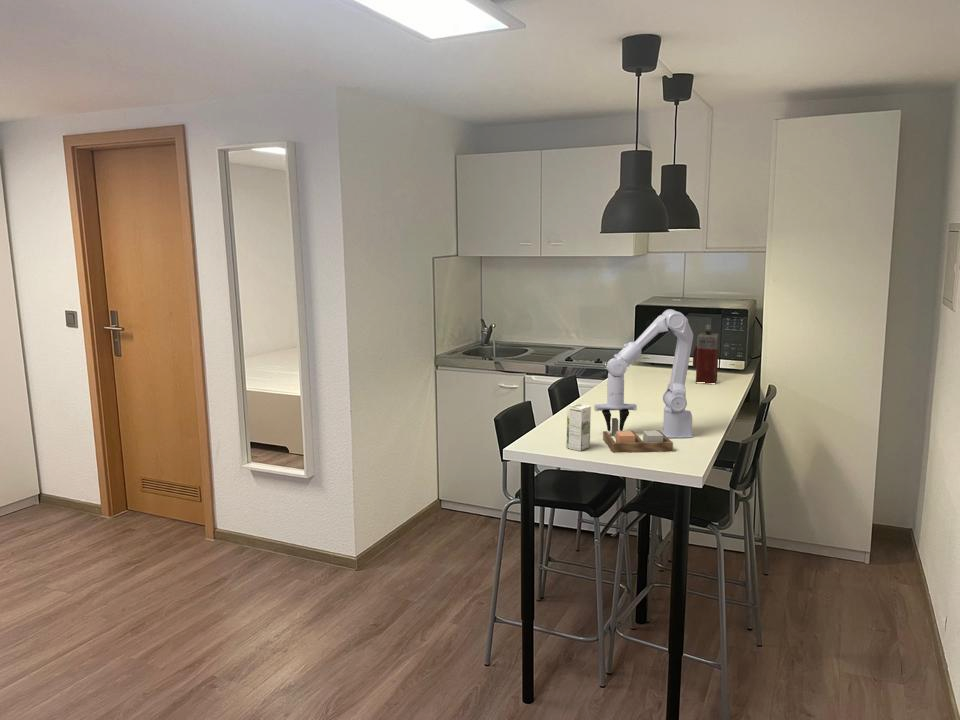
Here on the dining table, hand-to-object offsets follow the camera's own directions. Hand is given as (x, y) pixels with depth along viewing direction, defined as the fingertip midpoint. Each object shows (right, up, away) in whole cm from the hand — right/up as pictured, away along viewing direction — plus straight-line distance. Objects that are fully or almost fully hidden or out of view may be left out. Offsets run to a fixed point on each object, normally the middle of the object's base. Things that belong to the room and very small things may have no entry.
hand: (615, 430), depth 257 cm
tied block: (0, -3, -8) cm, 9 cm away
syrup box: (-15, -5, -15) cm, 22 cm away
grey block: (+10, -4, -15) cm, 19 cm away
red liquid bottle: (+61, +14, +96) cm, 114 cm away
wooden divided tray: (+5, -4, -12) cm, 14 cm away
